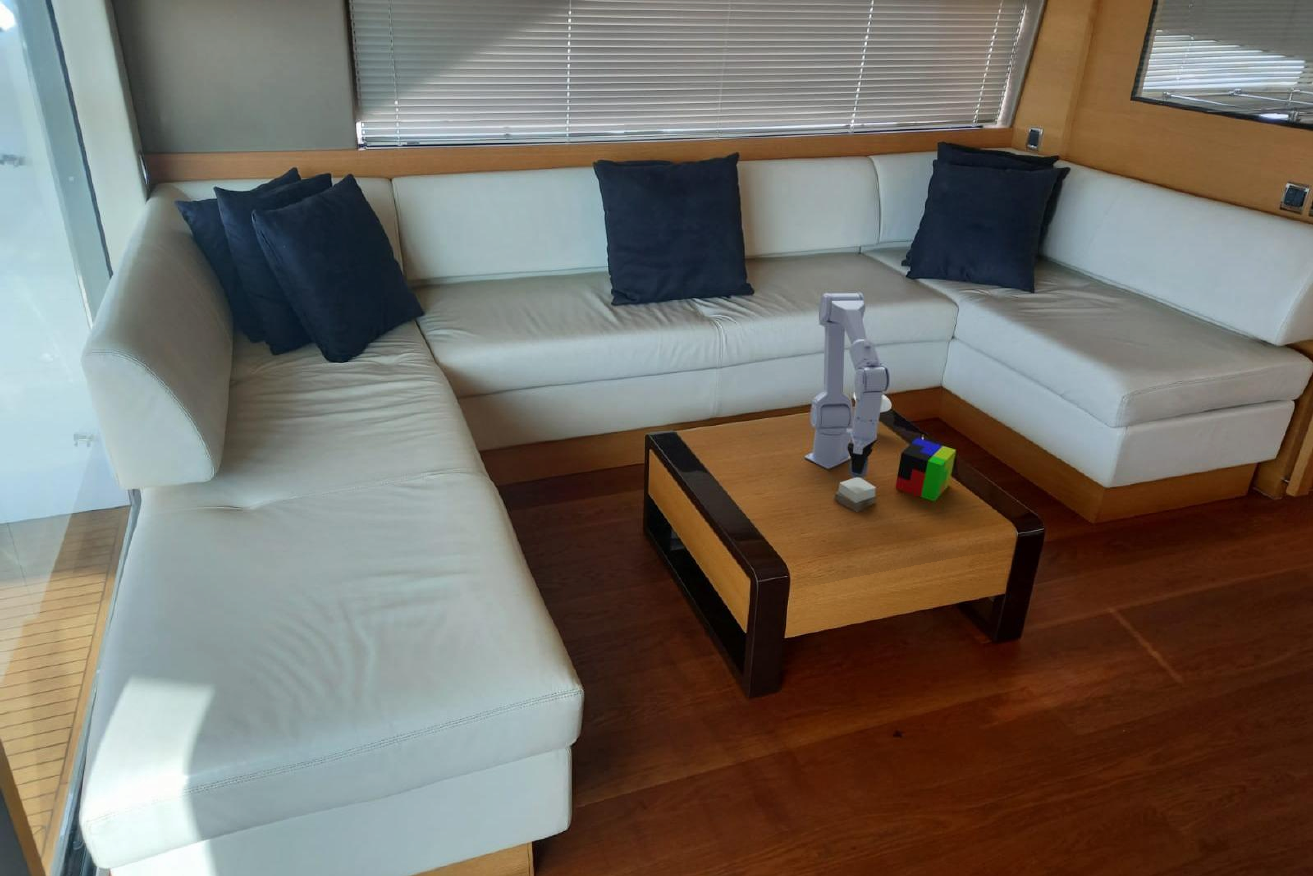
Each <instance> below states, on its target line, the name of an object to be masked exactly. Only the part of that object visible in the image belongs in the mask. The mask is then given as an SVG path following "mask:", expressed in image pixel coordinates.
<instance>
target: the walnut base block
mask: <svg viewBox="0 0 1313 876" xmlns="http://www.w3.org/2000/svg"><path fill="white" fill-rule="evenodd" d="M877 498H878V496H877V495H876V494H875V497H872V498H869V499H866V500H863V501H860V502H857V503H855V502H854V501H852V500H851V499H849V498H847V497H846V496H844V495H843V494H841V493H840V492H839V490H838V491H836V492H834V497H833V500H834V501H835V502H837V503H839V504H841V505H842V506H844V505H845V507H847V508H848V509H850V508H851V509H850V510H852V511H854V512H856V513H859V512H862V510H864V509H867V508H868V507H870V506H873V505H874V504H876V503H877Z"/></svg>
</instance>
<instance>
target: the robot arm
mask: <svg viewBox="0 0 1313 876" xmlns="http://www.w3.org/2000/svg"><path fill="white" fill-rule="evenodd" d="M818 303H819V304H818V321H819V325H820V326H822V327H824V352H823V353H824V355H823V357H824V359H823V360H824V361H823V363H824V364H823V365H824V366H823V390H822V392H820V393H819V394H817V395H816V396H815V397H813V398H812V401H811V408H810V410H809V411H810V413H809V420H810V424H811V426H812V428H813V429H815V431H814V439H813V447H812V452H810V453H809V454H807V455H805V456H804V458H805V459H806V460H808V461H811V462H812V463H815V464H817V465H818V466H821V467H823V468H825V469H828V470H829V469H833V468H834V467H836V466H839V465H841V464H842V463H844V462H847V461H849V460H850V463H851V466H852V472H854V473H859V474H861V473H862V471H863V468H864V465H865V462H866V460H867V458H868V459H869V456H870V455H871V454H872V452H873V451H874V449H873V448H872V447H873V446H874V444H875V443H876V442H877V440H878V426H879V421H880V420H879V419H880V414H881V413H880V409H881V402H882V396H883V395H884V392H887V391H888V389H889V387H890V381H891V380H890V372H889V368H888V367H887V366H886V365H885V364H884V363H883V362H881V361H880V359H879V356H878V354H877V350H876V348H875V345H874V343H873V342H872V341H871V340H868V339H867V334H866V330H865V325H864V321H863V318H864V316H865V312H866V299H865V296H864V295H863V293H862V292H850V293H849V292H848V293H847V292H846V293H845V292H844V293H841V292H839V293H837V292H836V293H828V292H825V293H823V294H822V295H821V297H820V300H819V302H818ZM845 335H846V336H847V337H848V340H849V342H850V344H851V346H850V347H849V352H848V353H849V355H850V356H849V357H850V359H851V361H852V365H853V367H854V372H855V374H854V392H855V396H856V401H855V404H854V410H853V401H852V399H851V398H850V396H848V395H847V394H846V393H844V371H845V369H844V368H845V366H844V364H845V340H846V336H845ZM851 441H852V443H851Z"/></svg>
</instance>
